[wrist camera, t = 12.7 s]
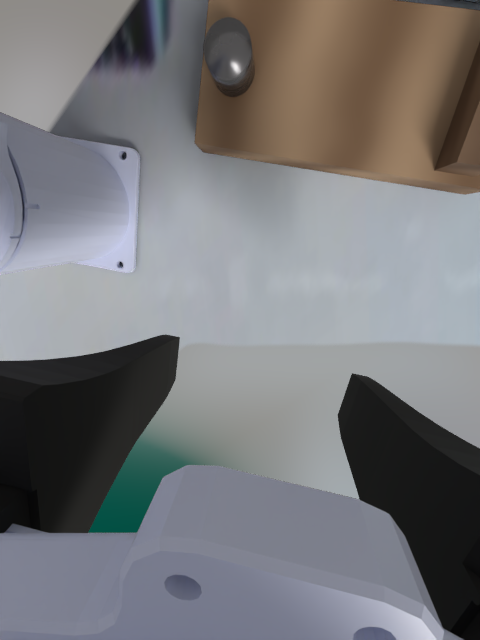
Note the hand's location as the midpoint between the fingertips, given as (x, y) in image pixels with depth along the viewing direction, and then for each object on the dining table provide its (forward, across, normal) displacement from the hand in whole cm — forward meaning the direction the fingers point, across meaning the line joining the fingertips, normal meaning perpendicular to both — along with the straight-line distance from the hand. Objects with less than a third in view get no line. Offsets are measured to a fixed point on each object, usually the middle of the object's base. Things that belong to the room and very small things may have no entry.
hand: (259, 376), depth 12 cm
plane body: (+9, -2, -13) cm, 16 cm away
